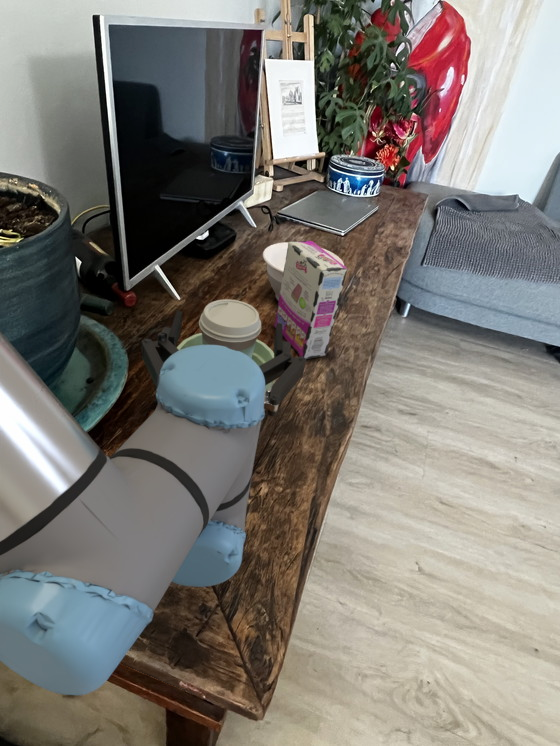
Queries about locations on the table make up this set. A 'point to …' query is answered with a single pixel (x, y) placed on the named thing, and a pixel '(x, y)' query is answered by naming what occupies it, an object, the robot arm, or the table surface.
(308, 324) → the candy bar box
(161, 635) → the table surface
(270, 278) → the bowl
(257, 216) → the table surface
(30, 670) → the robot arm
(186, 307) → the table surface
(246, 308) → the coffee cup
